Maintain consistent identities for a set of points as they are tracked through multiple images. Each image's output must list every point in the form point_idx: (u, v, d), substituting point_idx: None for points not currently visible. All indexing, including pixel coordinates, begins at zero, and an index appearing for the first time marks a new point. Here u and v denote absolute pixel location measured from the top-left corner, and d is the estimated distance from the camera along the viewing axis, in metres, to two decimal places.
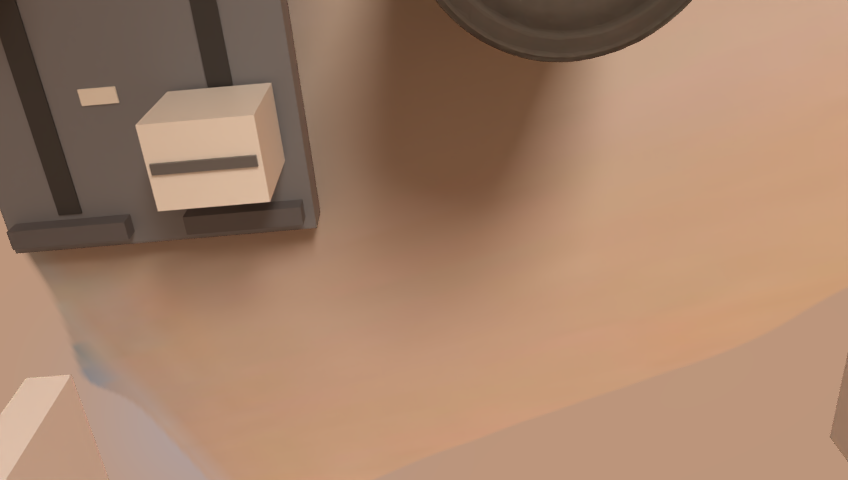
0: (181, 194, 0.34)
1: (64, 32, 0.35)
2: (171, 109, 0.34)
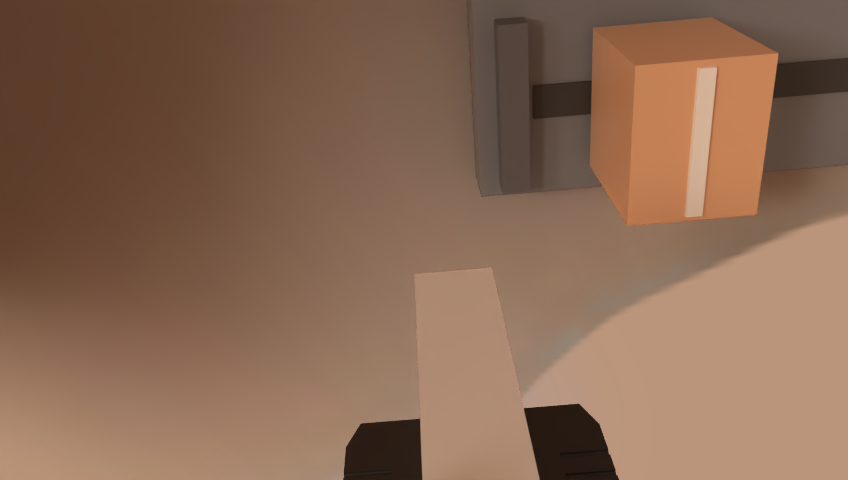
0: None
1: None
2: None
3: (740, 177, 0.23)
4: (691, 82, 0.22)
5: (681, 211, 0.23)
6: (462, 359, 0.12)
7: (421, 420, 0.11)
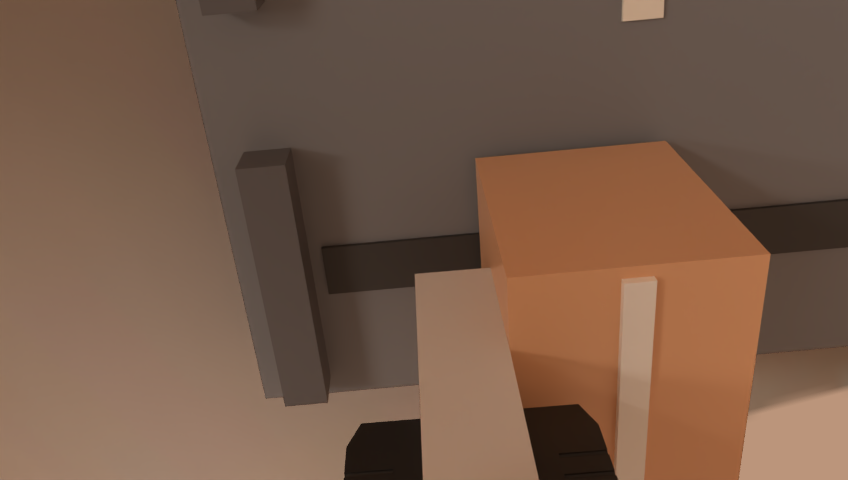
0: None
1: (818, 127, 0.16)
2: None
3: (707, 443, 0.13)
4: (611, 303, 0.12)
5: None
6: (461, 359, 0.12)
7: (421, 420, 0.11)
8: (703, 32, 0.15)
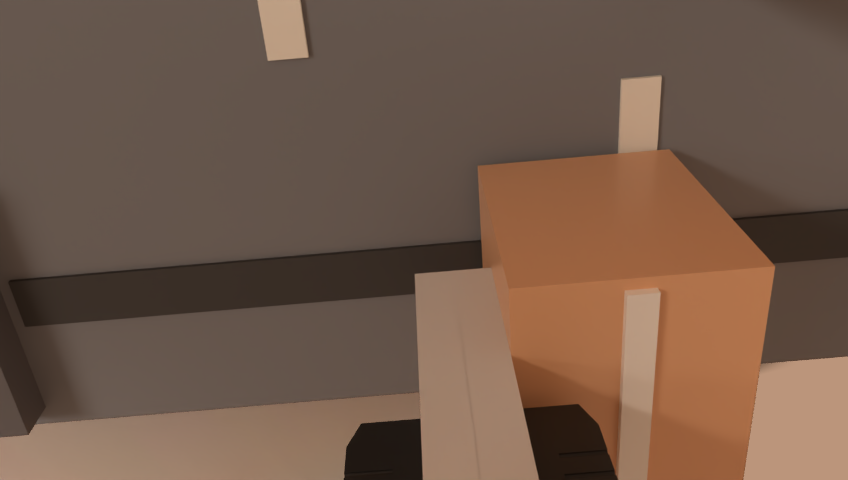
0: None
1: None
2: None
3: (709, 456, 0.13)
4: (614, 315, 0.12)
5: None
6: (462, 359, 0.12)
7: (421, 420, 0.11)
8: (354, 71, 0.15)
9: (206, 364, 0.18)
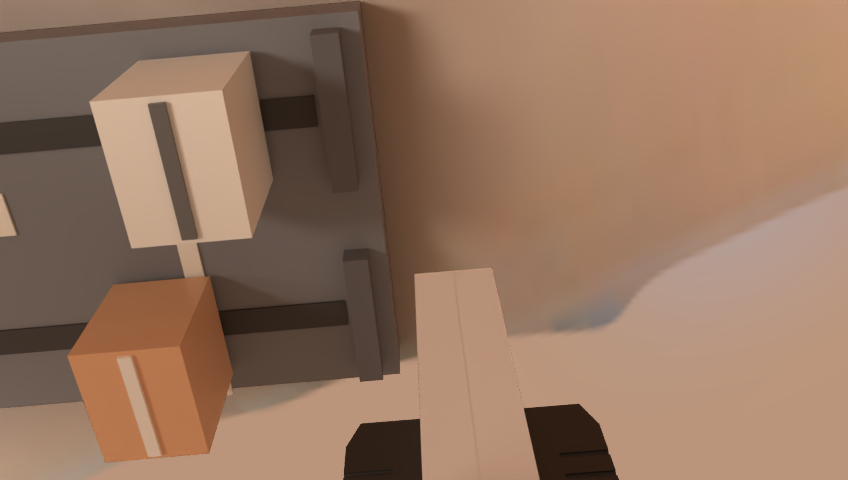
0: (223, 206, 0.25)
1: (121, 283, 0.32)
2: None
3: (184, 428, 0.29)
4: (117, 366, 0.27)
5: (145, 452, 0.29)
6: (462, 359, 0.12)
7: (421, 420, 0.11)
8: (41, 241, 0.31)
9: None
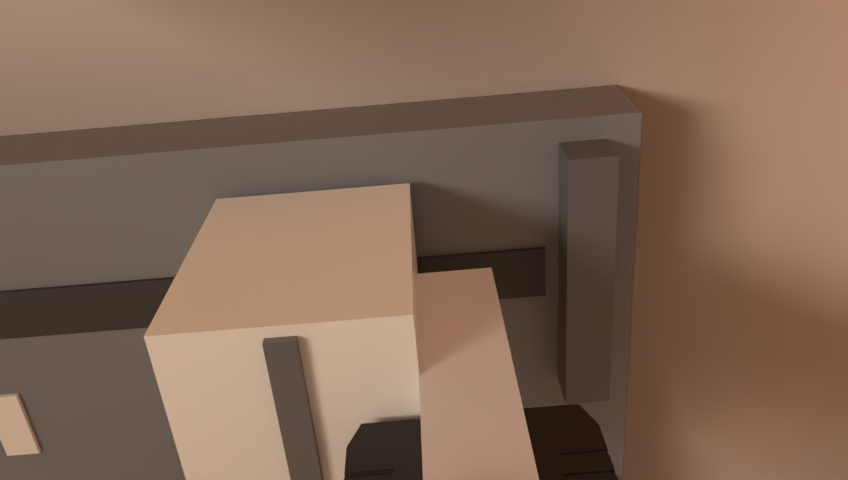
0: None
1: None
2: None
3: None
4: None
5: None
6: (461, 359, 0.12)
7: (421, 420, 0.11)
8: (79, 459, 0.19)
9: None
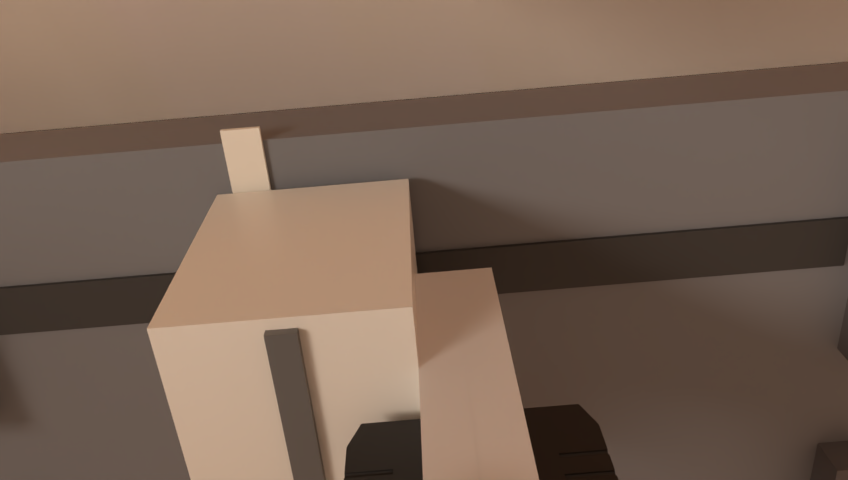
0: None
1: None
2: None
3: None
4: None
5: None
6: (462, 359, 0.12)
7: (422, 420, 0.11)
8: None
9: None
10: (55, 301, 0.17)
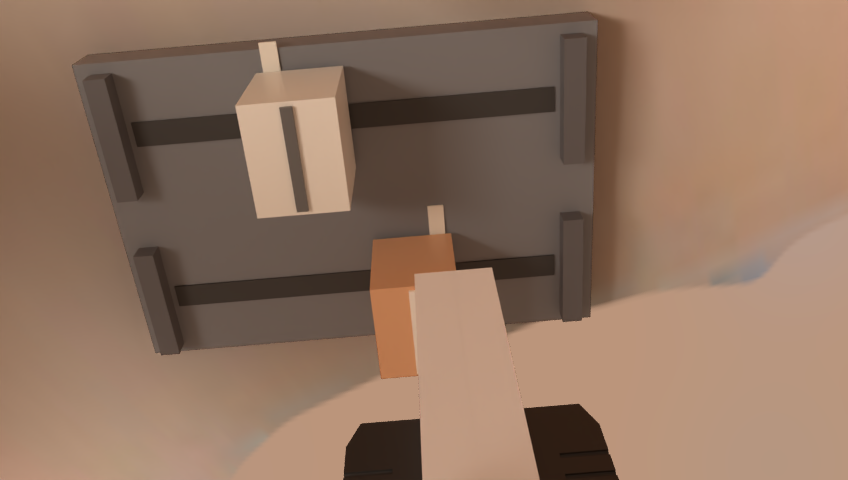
0: (330, 186, 0.32)
1: None
2: None
3: None
4: (406, 298, 0.35)
5: (414, 370, 0.37)
6: (462, 359, 0.12)
7: (421, 420, 0.11)
8: None
9: (256, 323, 0.41)
10: (178, 127, 0.36)
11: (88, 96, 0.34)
